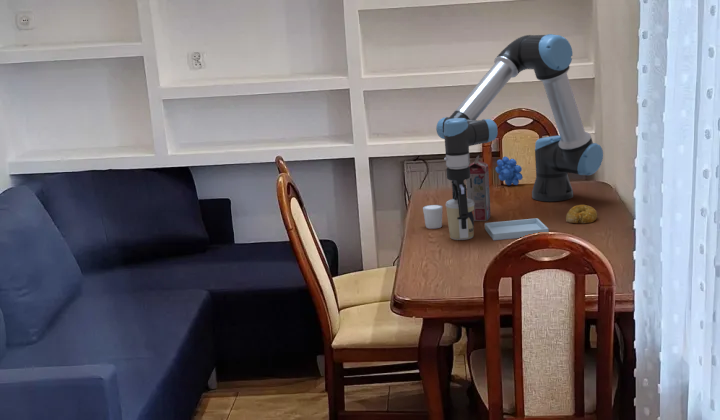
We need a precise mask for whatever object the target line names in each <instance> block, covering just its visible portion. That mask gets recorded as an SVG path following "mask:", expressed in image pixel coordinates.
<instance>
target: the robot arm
mask: <svg viewBox="0 0 720 420" xmlns="http://www.w3.org/2000/svg"><path fill="white" fill-rule="evenodd" d="M572 56H573V48H572V45H571V43H570V42H569V40H568V39H567V38H565V37H564V36H562V35H560V34H552V33H549V34H548V33H547V34H526V35H523V36H520V37H518V38H516V39H514V40H513V41H511V43H509V44H508V45H507V46H506V47H505V48H504V49H502V50H501V52H499V54H497V56H496V57H495V59H494V64H493V65H492V66H491V68H490V69H488V71H487V72H486V74H485V75H484V76H482V78H481V79H480V80H479V82H478V83H477V84H476V86H474V88H473V89H472V90H471V91H470V92H469V94H468V95H467V96H466V97H465V98H464V100H463V101H462V102H461V103H460V104H459V105H458V107H456V109H455V110H454V111H453V113H452V114H451V115H450V116H445V117H442V118H440V119H439V120H438V121H437V124H436V128H435V129H436V133H437V135H438V137H439V138H441V139H442V140H444V148H445V157H444V158H443V159H444V162H445V166H446V167H447V168H446V169H445V170H446V179H447V180H448V181H451V187H452V188H451V189H452V190H451V191H452V199H454V200H457V202H458V207H459V217H458V218H457V219H459V233H460V239H461V238H468V220H467V218H469V215H468V206H467V184H465V182H464V181H465V180H466V179H469V178H470V167H469V165H470V164H471V162H470V147H472V146H477V145H482V144H488V143H490V142H493V141H495V140H496V139H497V136H498V133H499V132H498V125H497V123H496V122H495V121H494V120H493V119H490V118H487V119H485V118H483V119H481V120H479V119H478V118H479V117H480V115H481V114H483V112H484V111H485V109H486V108H487V107H488V106H489V105H490V104H491V103H492V101H493V100H494V99H495V98H496V96H497V95H498V94H499V93H500V92H501V91H502V89H503V88H504V87H506V85H507V83H508V82H509V81H510V80H511V79H512V78H516V77H518V75H519V74H520V73H521V72H523V71H525V70H533V71H534V75H535V78H536V79H537V80H538V81H540V82H542V84H543V88H544V90H545V93H546V96H547V99H548V102H549V106H550V109H551V112H552V115H553V116H552V117H553V118H554V122H555V124H556V127H557V130H558V133H559V135H551V136H545V137H541V138H538V139H537V140H536V141H535V143H534V144H535V145H534V147H535V148H534V151H535V152H534V156H535V177H536V178H535V181H534V184H533V188H532V190H531V198H532V199H533V200H535V201H541V202H561V201H568V200H569V199H570V200H571V199H572V198H574V191H573V187H572V184H571V182H570V178H569V176H568V175H569V174H575V175H580V176H592V175H594V174H595V173H597V172H598V170H599V169H600V167H601V165H602V162H603V159H604V151H603V148H602V146H601V145H600V144H598V143H596V142H595V143H594V142H593V139H592V136H591V134H590V133H589V132H588V131H585V128H584V124H583V121H582V118H581V114H580V112H579V108H578V106H577V102H576V99H575V98H576V97H575V96H574V93H573V89H572V86H571V83H570V79H569V76H568V72H569V71H570V68H571V67H570V65H571V63H572V60H573V58H572ZM477 119H478V120H477ZM463 214H465V215H463Z"/></svg>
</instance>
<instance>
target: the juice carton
mask: <svg viewBox="0 0 720 420" xmlns="http://www.w3.org/2000/svg"><path fill="white" fill-rule="evenodd" d="M469 167H470V178H469V179H465V180H466V181H465V182H466V184H465V185H466V188H467V190H466V192H467V198H468V199H472V200H473V201H474V222H476V221H478V222H488V220H490V218H491V196H490V195H491V193H490V174H489V173H490V172H489V164H488V163H486V162H484V161H482V160H481V159H480V155H477V156H476V158H475V159H474V161H473V162H472V163H470V165H469Z"/></svg>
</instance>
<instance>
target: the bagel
mask: <svg viewBox="0 0 720 420" xmlns="http://www.w3.org/2000/svg"><path fill="white" fill-rule="evenodd" d="M597 219H598V212H597V210H596V209H595V208H594V207H592V206H590V205H586V204H576V205H574V206H572V207H571V208H570V209H569V210H568V211H567V212H566V217H565V220H566V223H569V224H589V223H590V224H591V223H594V222H595V221H596V220H597Z"/></svg>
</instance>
